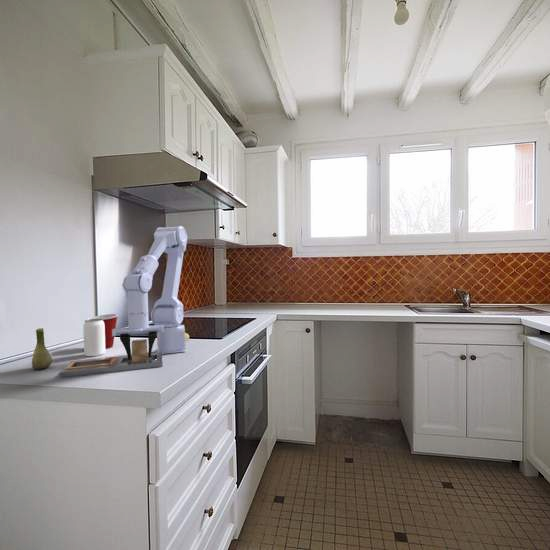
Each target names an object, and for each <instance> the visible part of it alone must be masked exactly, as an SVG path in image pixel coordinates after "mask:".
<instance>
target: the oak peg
mask: <svg viewBox="0 0 550 550" xmlns="http://www.w3.org/2000/svg"><path fill="white" fill-rule="evenodd" d="M147 344H148V342H147V338H146V339H134V340H131V355H132V362H138V361H147V354H148V345H147Z"/></svg>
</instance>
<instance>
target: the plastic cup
mask: <svg viewBox="0 0 550 550" xmlns="http://www.w3.org/2000/svg"><path fill="white" fill-rule="evenodd" d="M118 317H119V314H118V313H108V314H107V313H106V314H100V315H95V316H90V317H88V318H86V320H89V319H103V322H104V324H105V349H110V348H113V347H114V343H115V342H114V341H115V337H116V336H112V330H113V329H117V321H118Z"/></svg>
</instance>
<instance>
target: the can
mask: <svg viewBox="0 0 550 550" xmlns="http://www.w3.org/2000/svg"><path fill="white" fill-rule="evenodd" d="M82 328H83V332H82V333H83V353H84V356H85V357H86V356H87V357H88V358H92V357H91V356H94V357H99V355H100V356H102V355H105V353H106V352H107V351H106V349H107V348H106V349H105V324H104V322H103V319H89V320H87V319H85V320H84V323H83V325H82Z"/></svg>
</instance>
